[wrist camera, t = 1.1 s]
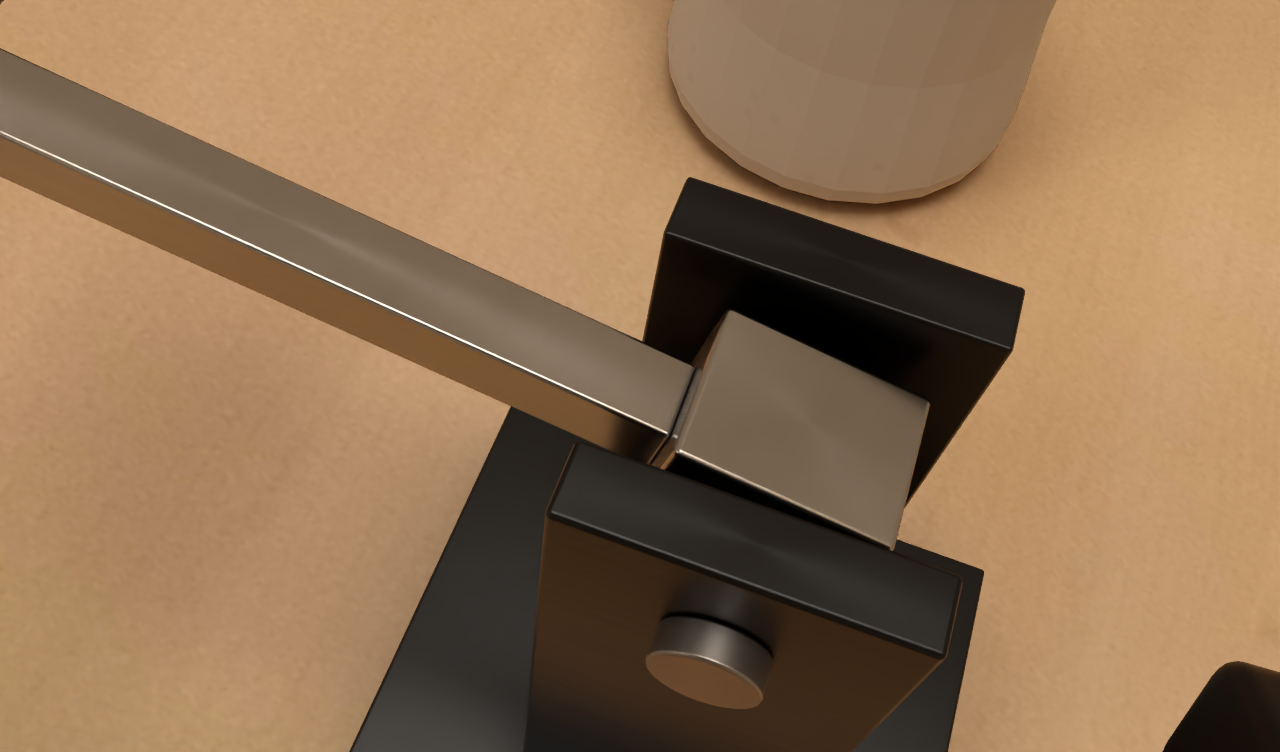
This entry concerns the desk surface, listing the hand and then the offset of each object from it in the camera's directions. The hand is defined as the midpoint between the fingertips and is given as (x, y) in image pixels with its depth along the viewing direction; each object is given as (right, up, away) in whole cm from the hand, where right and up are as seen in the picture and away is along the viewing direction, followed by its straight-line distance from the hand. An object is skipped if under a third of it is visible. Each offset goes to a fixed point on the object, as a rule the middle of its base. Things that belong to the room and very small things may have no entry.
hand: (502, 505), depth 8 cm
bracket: (+2, -5, +16) cm, 17 cm away
